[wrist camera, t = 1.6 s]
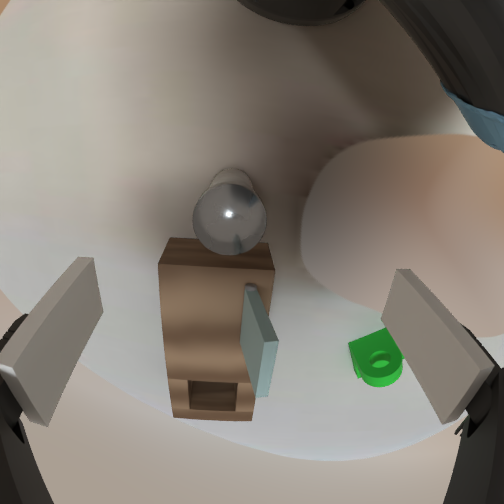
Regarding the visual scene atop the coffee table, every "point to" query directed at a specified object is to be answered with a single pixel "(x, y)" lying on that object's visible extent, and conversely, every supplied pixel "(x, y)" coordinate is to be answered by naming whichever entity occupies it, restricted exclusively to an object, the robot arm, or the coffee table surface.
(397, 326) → the robot arm
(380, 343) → the mechanical part
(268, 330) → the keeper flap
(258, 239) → the grey cylinder
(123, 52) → the coffee table surface
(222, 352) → the block
